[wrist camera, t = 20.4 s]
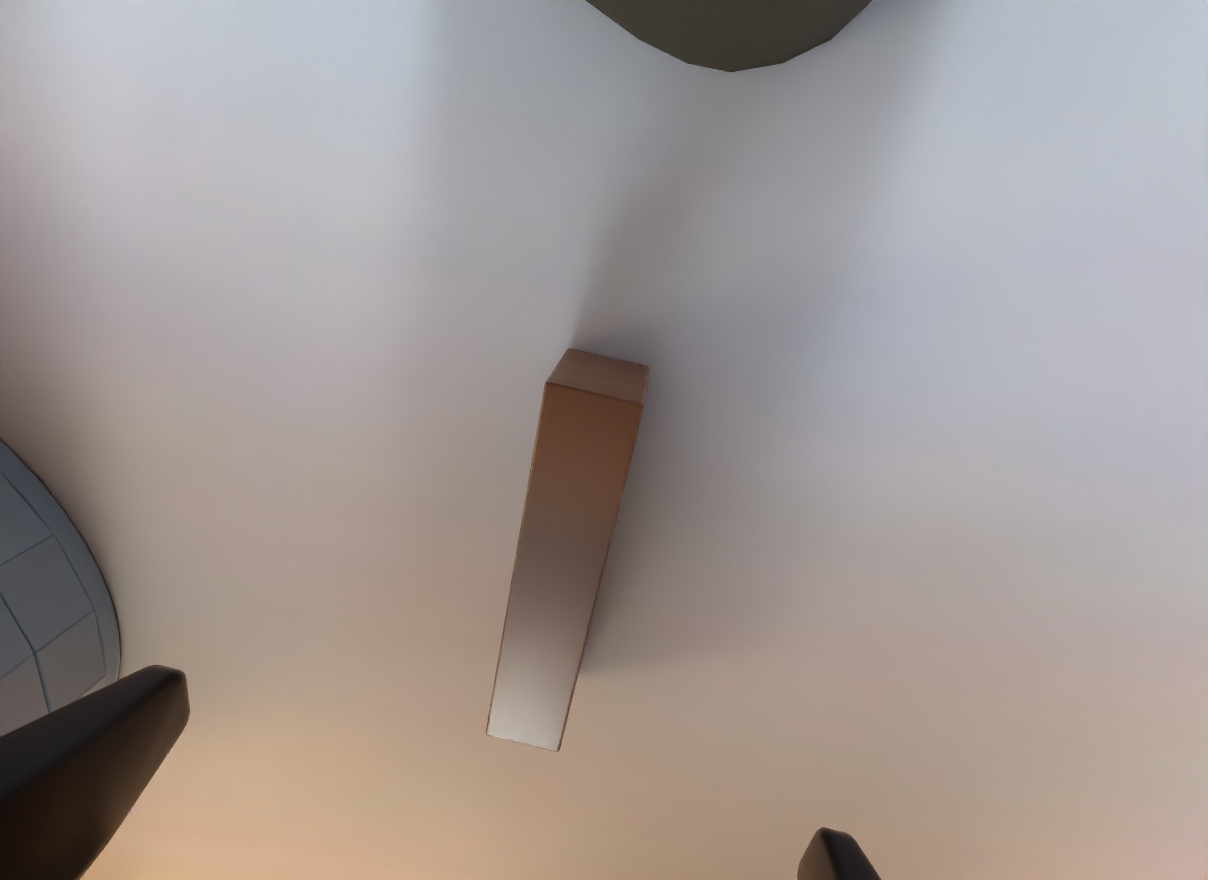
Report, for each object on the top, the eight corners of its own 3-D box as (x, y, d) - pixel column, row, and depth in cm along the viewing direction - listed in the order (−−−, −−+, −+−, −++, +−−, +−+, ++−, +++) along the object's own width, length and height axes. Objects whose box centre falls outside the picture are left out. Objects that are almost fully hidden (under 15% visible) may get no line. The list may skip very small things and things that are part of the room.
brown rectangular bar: (574, 676, 16) (558, 752, 14) (510, 661, 17) (485, 735, 14) (650, 365, 13) (644, 404, 11) (567, 347, 13) (545, 381, 11)
